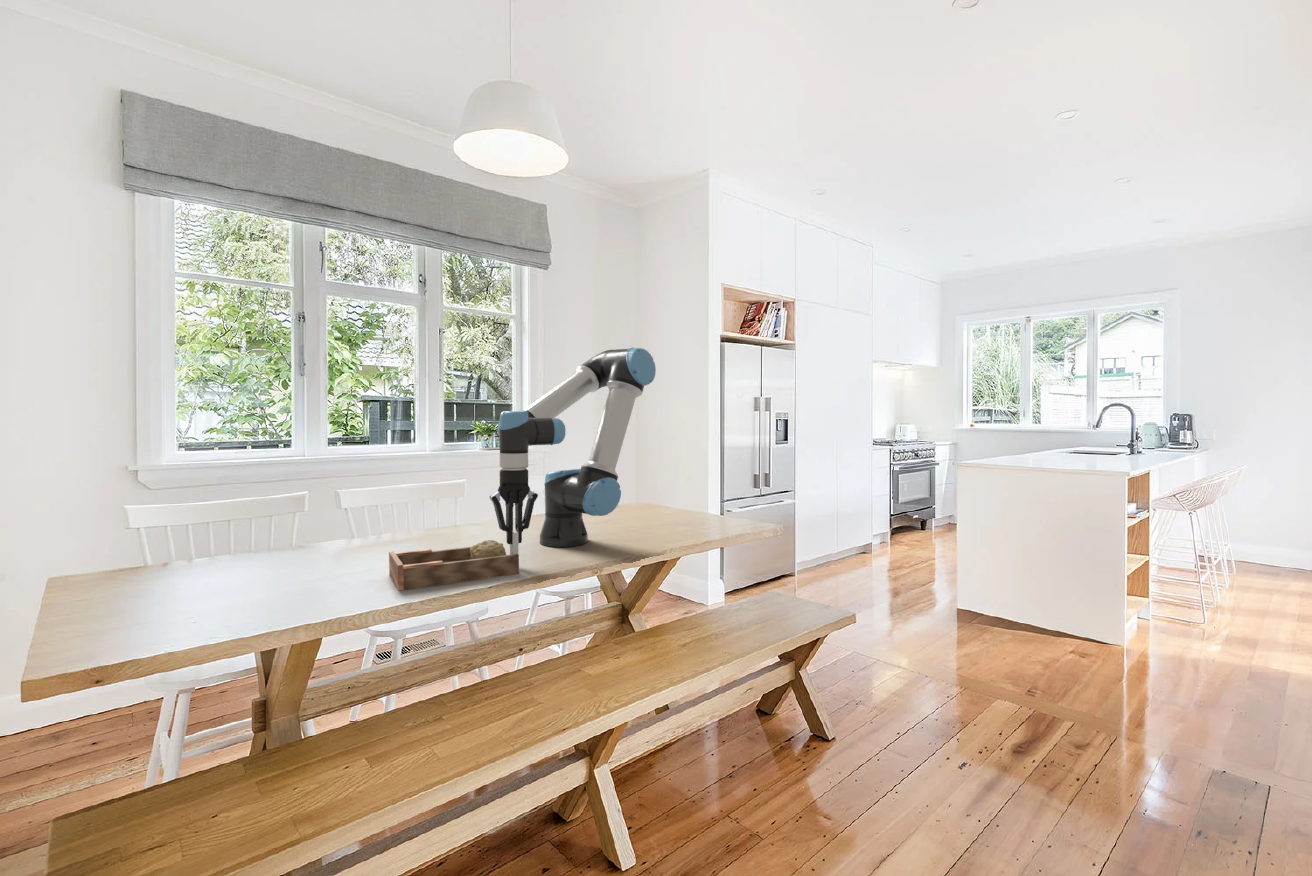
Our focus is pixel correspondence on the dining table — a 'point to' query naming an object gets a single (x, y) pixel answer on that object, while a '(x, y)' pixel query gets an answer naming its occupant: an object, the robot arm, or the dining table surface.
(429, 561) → the tray
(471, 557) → the coral
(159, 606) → the dining table surface
